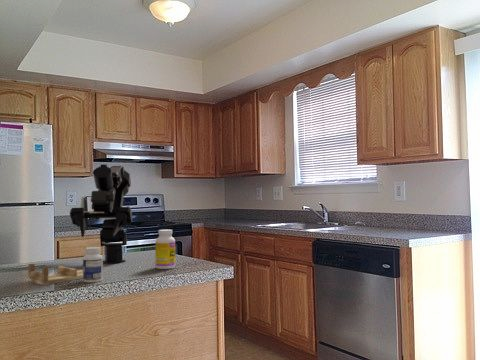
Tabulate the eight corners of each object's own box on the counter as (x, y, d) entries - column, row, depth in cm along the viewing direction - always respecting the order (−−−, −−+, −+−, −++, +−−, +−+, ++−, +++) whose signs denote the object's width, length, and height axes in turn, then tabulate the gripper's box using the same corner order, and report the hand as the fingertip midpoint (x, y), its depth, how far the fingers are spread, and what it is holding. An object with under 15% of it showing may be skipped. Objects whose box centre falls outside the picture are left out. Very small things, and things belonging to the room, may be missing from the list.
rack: (28, 281, 125) (28, 264, 125) (86, 271, 140) (86, 256, 140) (44, 285, 119) (44, 267, 119) (102, 274, 134) (102, 258, 134)
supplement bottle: (171, 269, 141) (170, 231, 142) (152, 269, 142) (152, 230, 143) (178, 266, 148) (177, 229, 148) (160, 265, 149) (159, 229, 149)
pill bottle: (86, 279, 127) (86, 246, 127) (104, 278, 128) (104, 246, 128) (80, 283, 122) (80, 249, 122) (100, 282, 122) (99, 248, 122)
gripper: (71, 182, 136) (60, 219, 125) (130, 182, 138) (125, 217, 127) (78, 206, 144) (68, 242, 132) (134, 205, 146) (129, 241, 134)
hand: (97, 235), depth 131 cm, fingers open, 9 cm apart
